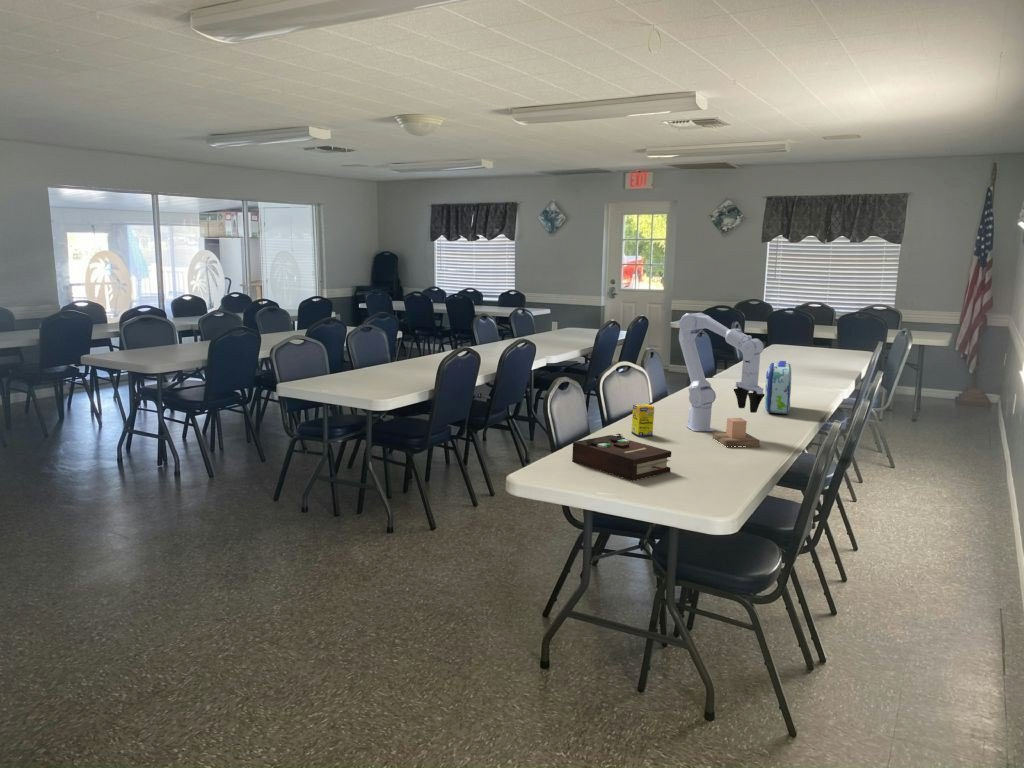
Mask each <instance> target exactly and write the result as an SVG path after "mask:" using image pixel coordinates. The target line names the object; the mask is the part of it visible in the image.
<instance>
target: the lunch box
mask: <svg viewBox="0 0 1024 768" xmlns="http://www.w3.org/2000/svg"><path fill="white" fill-rule="evenodd" d="M791 366H792V365H791V363H789V362H788V363H787V361H786V360H779V361H778V362H771V363H769V367H768V369H767V371H766V374H765V387H764V394H765V395H764V408H765V410H766V412H767V413H772V414H780V415H781V414H785V415H788V414H789V412H790V409H791V393H792V367H791Z"/></svg>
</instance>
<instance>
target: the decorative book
mask: <svg viewBox="0 0 1024 768" xmlns="http://www.w3.org/2000/svg"><path fill="white" fill-rule="evenodd" d="M571 457H572V460H571V462H572V463H575V464H578V465H582V466H584V467H588V468H591V469H594V470H597V469H598V470H597V471H600V470H601V471H600V472H603V471H604V472H603V473H606V472H607V474H609V473H610V475H612V474H613V476H615V475H616V477H618V476H619V478H621V477H623V479H626V480H629V481H631V480H632V482H634V481H633V480H635V481H637V479H639V480H642V479H641V478H643V479H646V478H645V477H647V478H651V477H654V475H655V476H659V475H662V474H663V475H664V474H666V473H671V467H669V466H668V465H667V464H668V462H671V461H672V460H670V459H668V458H672V451H671V450H667V449H664V448H660V447H656V446H652V445H649V444H645V443H642V442H637V441H633V440H631V439H626V437H624V436H623V434H621V433H615V435H614V434H609V435H608V434H607V435H604V436H598V437H597V436H596V437H593V438H588V439H586V438H585V439H581V440H577V441H573V442H572V456H571ZM650 476H651V477H650Z"/></svg>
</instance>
